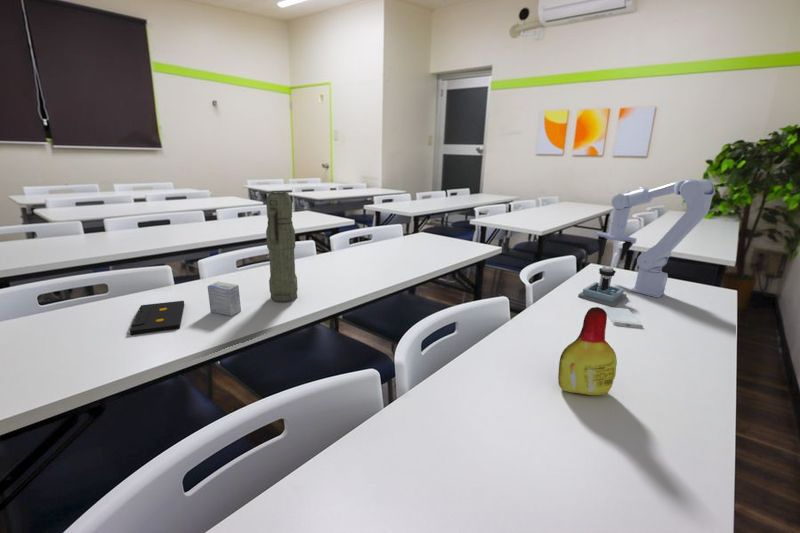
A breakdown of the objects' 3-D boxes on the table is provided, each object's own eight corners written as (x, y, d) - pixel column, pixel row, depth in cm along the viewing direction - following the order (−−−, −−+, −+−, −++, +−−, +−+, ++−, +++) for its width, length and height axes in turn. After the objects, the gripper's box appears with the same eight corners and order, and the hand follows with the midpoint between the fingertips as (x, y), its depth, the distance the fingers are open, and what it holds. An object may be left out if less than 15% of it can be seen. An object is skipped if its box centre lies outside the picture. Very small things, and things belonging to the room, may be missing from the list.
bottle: (558, 397, 86) (574, 312, 80) (550, 380, 92) (564, 300, 86) (615, 401, 85) (635, 315, 79) (603, 384, 91) (621, 303, 85)
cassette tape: (142, 310, 121) (140, 304, 120) (184, 306, 125) (183, 299, 125) (130, 337, 105) (129, 330, 105) (180, 330, 110) (179, 323, 109)
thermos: (264, 303, 128) (256, 193, 117) (276, 290, 139) (270, 189, 129) (292, 305, 128) (286, 195, 117) (302, 291, 139) (297, 190, 129)
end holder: (626, 297, 146) (628, 289, 145) (613, 306, 136) (615, 298, 135) (592, 288, 154) (593, 280, 153) (578, 296, 144) (579, 289, 143)
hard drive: (602, 306, 134) (614, 321, 122) (629, 308, 132) (643, 324, 121) (601, 310, 134) (612, 326, 123) (628, 313, 133) (642, 329, 121)
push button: (611, 292, 147) (616, 266, 144) (617, 297, 142) (622, 270, 139) (592, 290, 148) (597, 264, 145) (597, 295, 143) (602, 269, 140)
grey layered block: (241, 311, 122) (239, 284, 119) (231, 316, 118) (228, 289, 115) (220, 307, 124) (218, 280, 122) (210, 312, 120) (206, 285, 118)
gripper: (595, 222, 160) (589, 255, 164) (635, 228, 150) (627, 263, 154) (601, 220, 165) (595, 252, 169) (640, 226, 155) (633, 260, 159)
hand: (611, 257), depth 162 cm, fingers open, 7 cm apart
